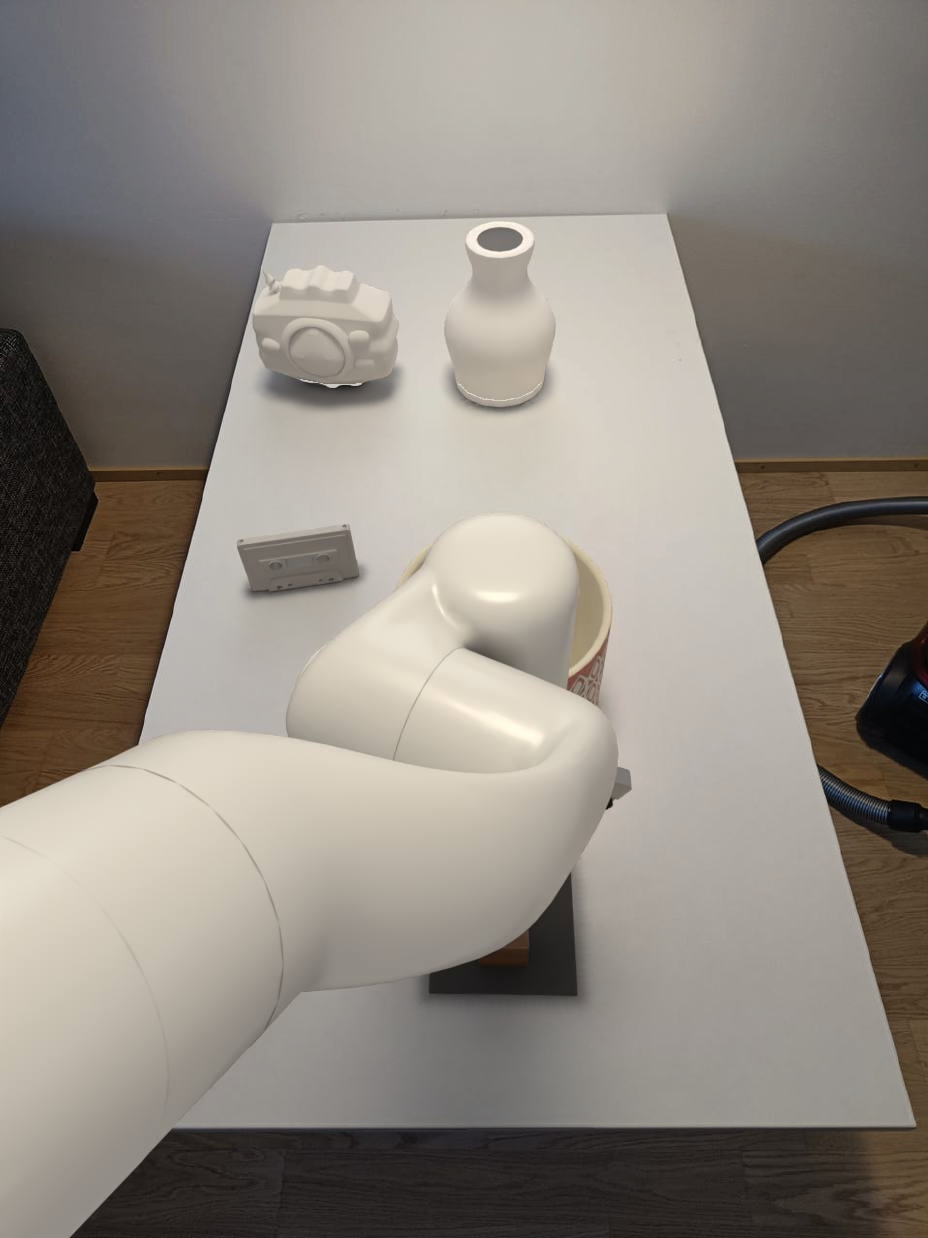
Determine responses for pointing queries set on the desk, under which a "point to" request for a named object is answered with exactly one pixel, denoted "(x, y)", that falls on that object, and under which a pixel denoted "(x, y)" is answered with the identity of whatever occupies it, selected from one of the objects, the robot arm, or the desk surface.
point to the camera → (325, 327)
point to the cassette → (299, 558)
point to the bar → (509, 953)
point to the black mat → (546, 960)
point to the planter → (588, 623)
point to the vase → (499, 319)
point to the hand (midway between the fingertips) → (495, 832)
